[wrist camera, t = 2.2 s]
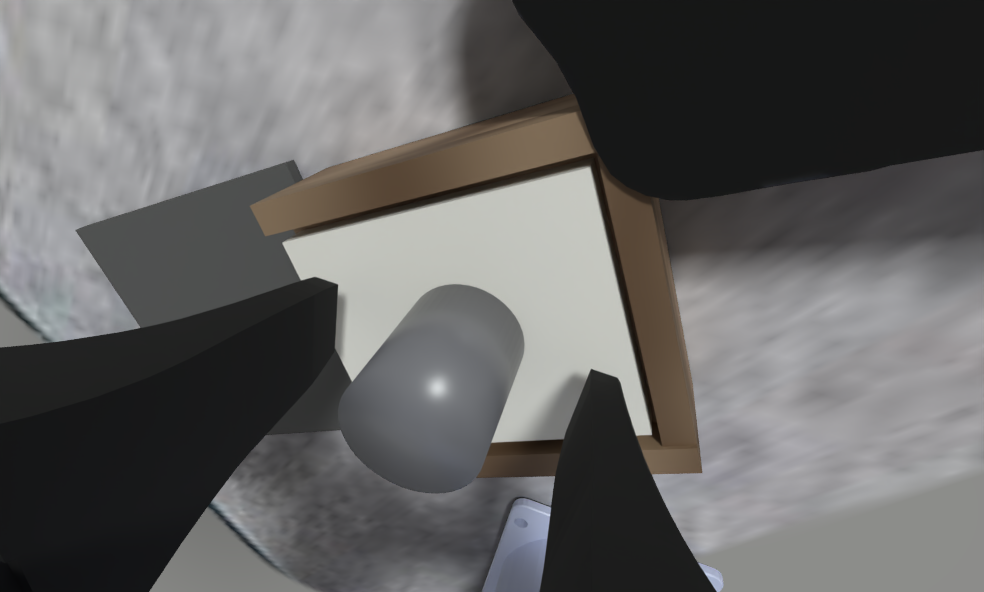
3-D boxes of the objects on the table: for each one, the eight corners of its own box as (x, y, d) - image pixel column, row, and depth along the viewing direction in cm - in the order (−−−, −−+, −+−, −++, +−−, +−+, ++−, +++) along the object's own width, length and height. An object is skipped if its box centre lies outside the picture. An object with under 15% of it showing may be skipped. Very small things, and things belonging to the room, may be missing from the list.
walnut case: (636, 74, 12) (630, 96, 9) (692, 384, 16) (702, 473, 13) (327, 167, 15) (250, 206, 12) (431, 406, 19) (390, 479, 16)
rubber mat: (293, 160, 15) (285, 163, 15) (412, 418, 19) (409, 425, 19) (85, 226, 19) (75, 230, 19) (221, 432, 23) (214, 438, 23)
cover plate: (593, 157, 11) (563, 234, 7) (651, 413, 13) (651, 564, 10) (300, 231, 14) (171, 312, 10) (396, 429, 16) (322, 550, 13)
